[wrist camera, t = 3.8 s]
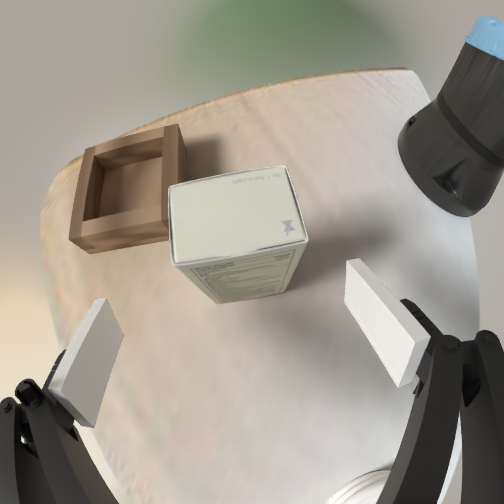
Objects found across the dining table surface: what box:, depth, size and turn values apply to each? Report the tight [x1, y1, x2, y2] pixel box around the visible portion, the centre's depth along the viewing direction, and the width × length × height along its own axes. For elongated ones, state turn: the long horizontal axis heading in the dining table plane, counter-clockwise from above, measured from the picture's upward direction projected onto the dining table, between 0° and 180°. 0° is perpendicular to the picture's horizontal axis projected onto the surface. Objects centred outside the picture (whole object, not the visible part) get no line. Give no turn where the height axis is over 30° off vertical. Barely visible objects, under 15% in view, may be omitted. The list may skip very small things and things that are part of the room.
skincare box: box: [168, 165, 309, 304], centre depth 18 cm, size 6×4×12 cm
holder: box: [69, 124, 187, 254], centre depth 25 cm, size 11×11×4 cm
